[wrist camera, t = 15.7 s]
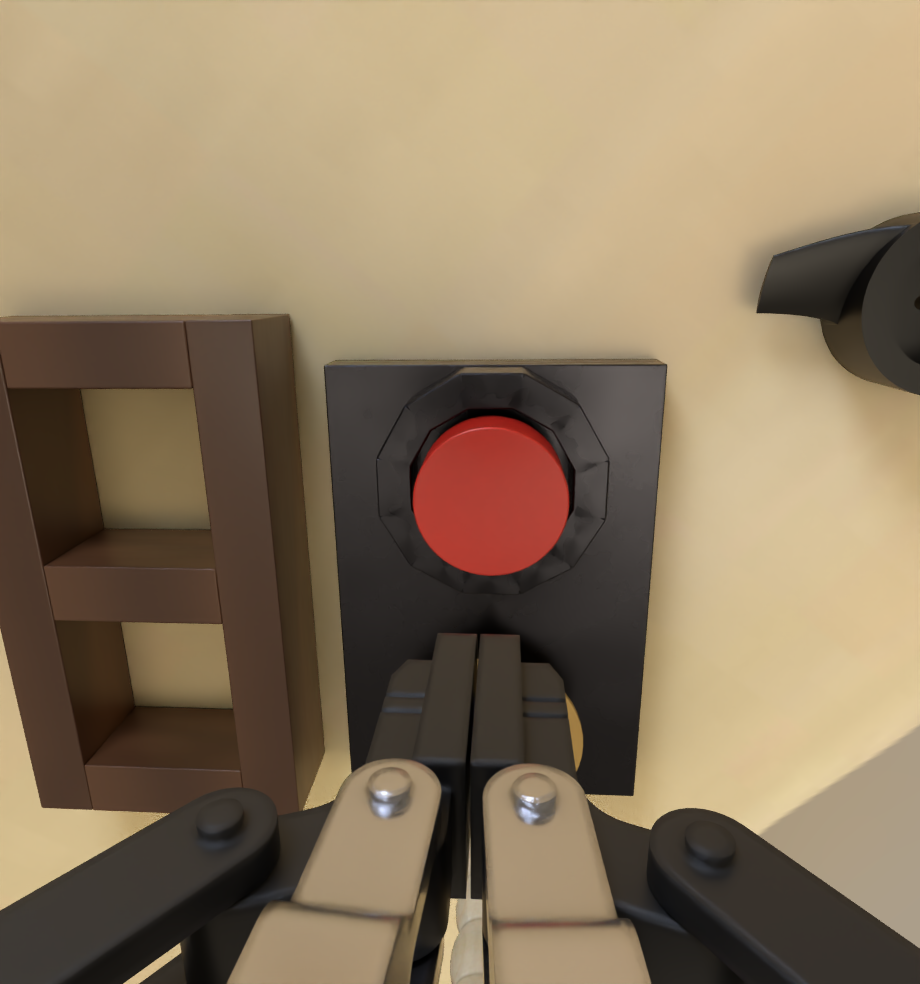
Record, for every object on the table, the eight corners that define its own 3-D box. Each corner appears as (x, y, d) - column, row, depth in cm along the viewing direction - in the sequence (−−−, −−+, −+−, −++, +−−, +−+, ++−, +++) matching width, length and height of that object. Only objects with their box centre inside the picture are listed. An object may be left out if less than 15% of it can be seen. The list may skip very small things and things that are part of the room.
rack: (96, 745, 32) (40, 808, 28) (12, 316, 26) (-73, 322, 22) (325, 753, 31) (300, 819, 27) (289, 314, 25) (251, 319, 22)
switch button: (418, 414, 23) (409, 427, 21) (566, 415, 23) (572, 427, 21) (421, 552, 25) (414, 575, 23) (561, 553, 24) (566, 578, 22)
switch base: (335, 360, 26) (309, 371, 23) (657, 359, 25) (680, 371, 22) (360, 760, 31) (342, 817, 28) (626, 769, 30) (641, 829, 27)
